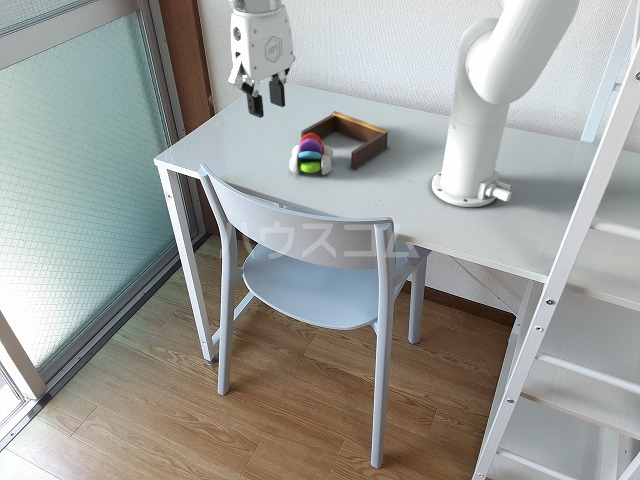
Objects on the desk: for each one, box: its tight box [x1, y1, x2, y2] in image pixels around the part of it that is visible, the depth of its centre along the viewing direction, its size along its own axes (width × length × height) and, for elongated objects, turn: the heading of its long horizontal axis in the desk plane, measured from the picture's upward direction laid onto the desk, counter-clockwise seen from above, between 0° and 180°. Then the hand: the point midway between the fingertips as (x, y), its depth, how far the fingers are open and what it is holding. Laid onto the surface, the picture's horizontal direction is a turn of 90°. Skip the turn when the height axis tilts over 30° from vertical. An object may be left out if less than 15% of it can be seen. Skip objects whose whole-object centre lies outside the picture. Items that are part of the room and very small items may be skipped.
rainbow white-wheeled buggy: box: [289, 133, 334, 176], centre depth 106 cm, size 8×10×7 cm
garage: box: [300, 110, 389, 171], centre depth 113 cm, size 15×12×4 cm
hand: (267, 108), depth 91 cm, fingers open, 4 cm apart
